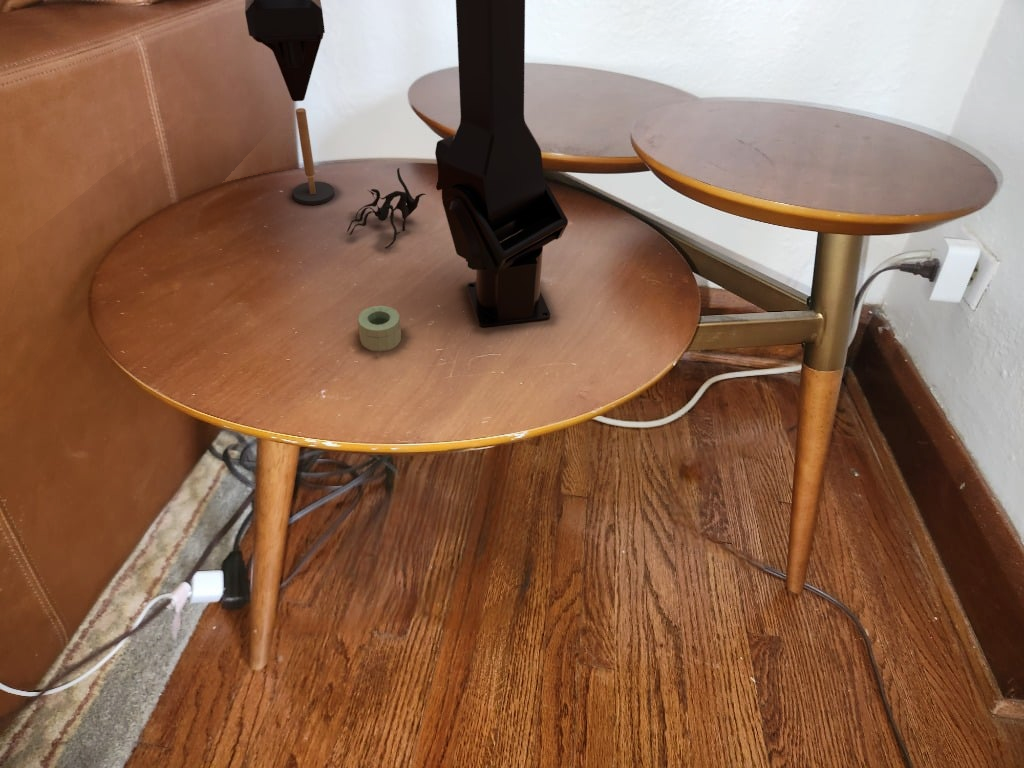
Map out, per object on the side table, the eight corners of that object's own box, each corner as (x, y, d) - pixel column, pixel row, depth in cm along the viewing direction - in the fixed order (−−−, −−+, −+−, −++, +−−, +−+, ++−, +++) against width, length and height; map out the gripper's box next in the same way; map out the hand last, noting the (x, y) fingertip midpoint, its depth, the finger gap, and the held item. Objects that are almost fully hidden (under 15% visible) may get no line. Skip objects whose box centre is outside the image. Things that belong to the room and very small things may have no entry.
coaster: (336, 203, 84) (335, 199, 83) (293, 206, 83) (293, 202, 82) (333, 183, 87) (332, 179, 87) (292, 187, 86) (291, 182, 86)
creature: (369, 266, 77) (439, 231, 79) (352, 221, 73) (426, 186, 75) (339, 229, 82) (406, 197, 84) (322, 185, 78) (392, 153, 80)
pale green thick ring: (404, 350, 66) (402, 327, 64) (362, 356, 65) (359, 332, 63) (398, 326, 68) (396, 303, 67) (358, 331, 68) (355, 307, 66)
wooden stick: (317, 193, 84) (305, 112, 78) (308, 194, 84) (295, 112, 78) (317, 187, 85) (305, 106, 79) (307, 188, 85) (295, 107, 79)
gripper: (176, -124, 71) (213, 51, 82) (158, -75, 58) (205, 127, 68) (301, -124, 74) (322, 47, 84) (312, -77, 60) (335, 119, 71)
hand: (296, 81), depth 77 cm, fingers open, 9 cm apart
